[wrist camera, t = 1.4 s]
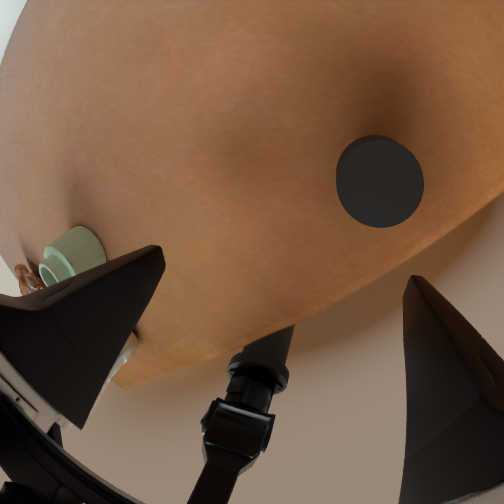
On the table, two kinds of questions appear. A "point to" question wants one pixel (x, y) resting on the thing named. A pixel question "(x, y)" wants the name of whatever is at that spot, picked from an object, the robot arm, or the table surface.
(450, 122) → the table surface
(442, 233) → the table surface
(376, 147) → the stopper
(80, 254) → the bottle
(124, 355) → the plastic bottle
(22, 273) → the mineral specimen
